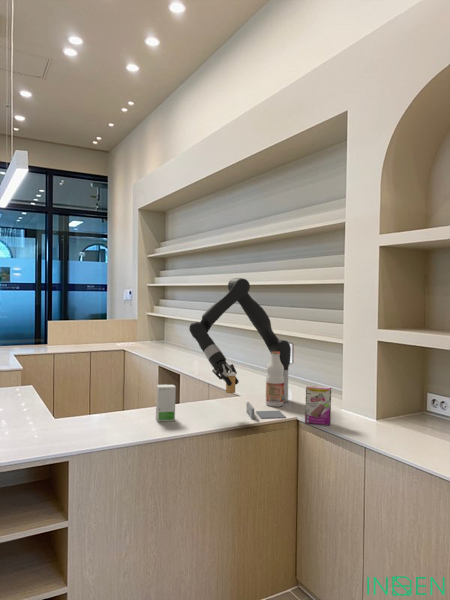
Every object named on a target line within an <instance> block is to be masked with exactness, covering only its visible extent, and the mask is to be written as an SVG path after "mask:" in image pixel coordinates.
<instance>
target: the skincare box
mask: <svg viewBox="0 0 450 600" xmlns="http://www.w3.org/2000/svg"><path fill="white" fill-rule="evenodd" d="M176 389H177V387H176V385H175V384H156V402H155V405H156V406H155V419H156V421H157V422H175V419H176Z"/></svg>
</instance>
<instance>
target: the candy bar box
mask: <svg viewBox="0 0 450 600" xmlns="http://www.w3.org/2000/svg"><path fill="white" fill-rule="evenodd" d="M304 415H305V417H304V423H305V424H308V425H309V424H310V425H318V426H319V425H320V426H331V422H332V421H331V420H332V419H331V418H332V417H331V416H332V387H331V386H318V385H317V386H316V385H306V388H305V413H304Z"/></svg>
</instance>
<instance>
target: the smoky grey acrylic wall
mask: <svg viewBox="0 0 450 600" xmlns="http://www.w3.org/2000/svg"><path fill="white" fill-rule="evenodd" d="M245 408H246V414H247V415H248V417H250V419H251V420H252V421H253V420H255V407H254V406H253V404H251V403H250V401H246V406H245Z"/></svg>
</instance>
